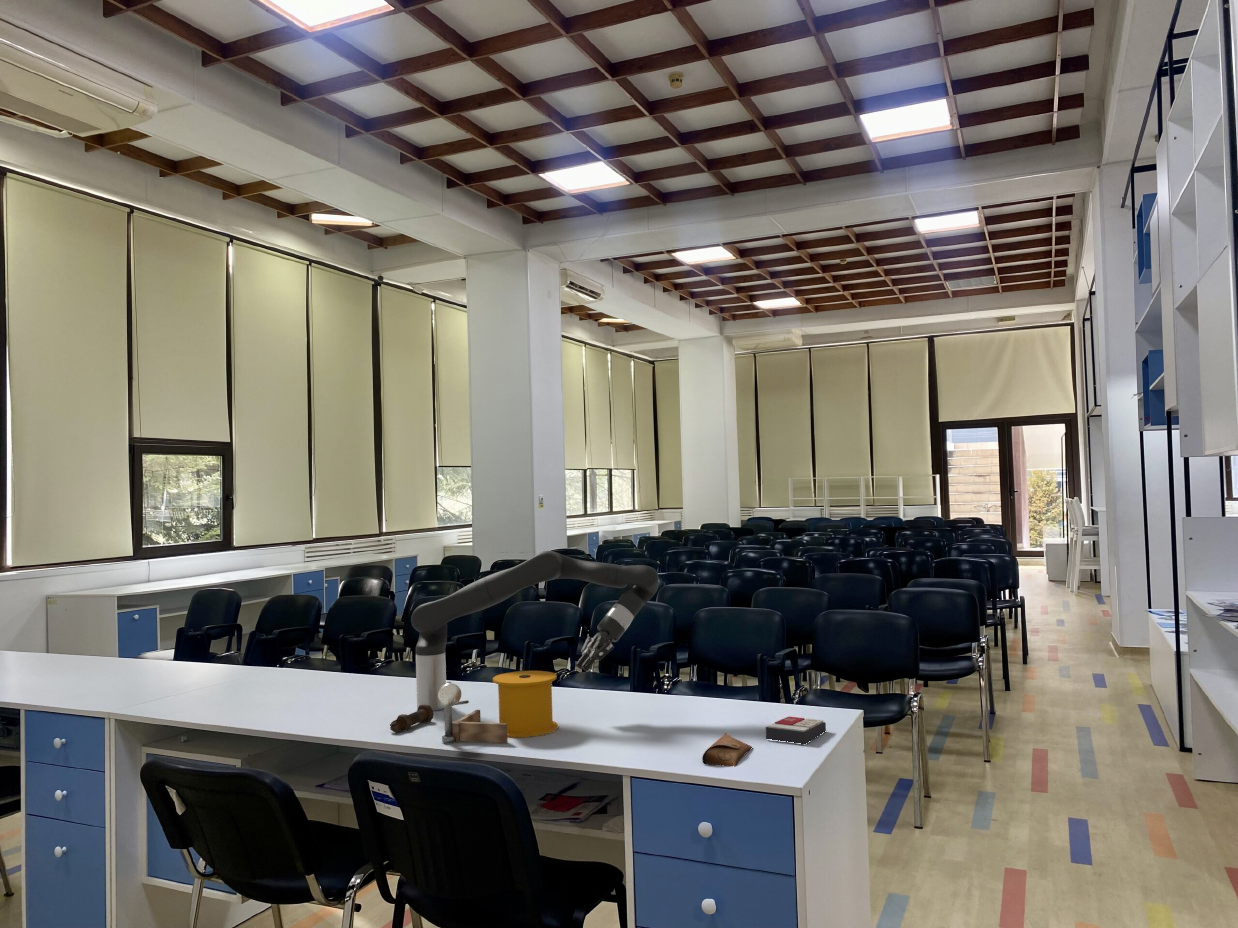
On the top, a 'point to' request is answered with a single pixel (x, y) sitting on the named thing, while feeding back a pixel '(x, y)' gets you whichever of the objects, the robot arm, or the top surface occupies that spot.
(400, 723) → the bolt
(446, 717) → the metal faucet
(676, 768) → the top surface
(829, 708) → the top surface
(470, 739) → the wooden v-shaped bracket
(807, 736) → the dark grey box
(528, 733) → the spool
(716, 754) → the sunglasses case
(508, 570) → the robot arm
